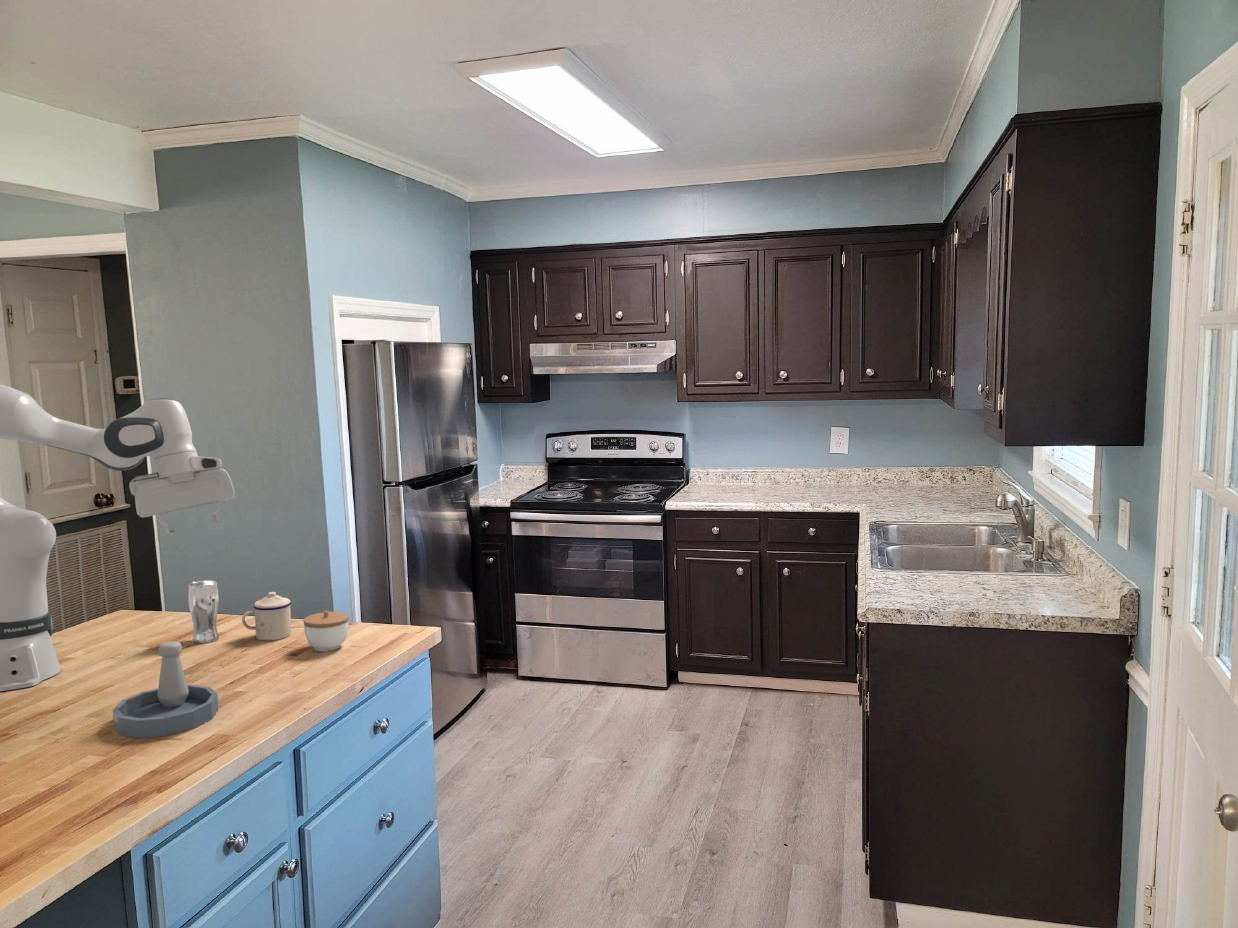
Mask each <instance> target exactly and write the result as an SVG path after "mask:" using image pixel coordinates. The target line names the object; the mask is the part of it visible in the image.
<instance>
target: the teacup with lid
mask: <svg viewBox="0 0 1238 928" xmlns="http://www.w3.org/2000/svg"><path fill="white" fill-rule="evenodd" d="M291 604H292V602H291V600H290V598H287V597H282V596H280V595H278V594H277V593H276V592H275V591H271V592H270V591H269V592H268V593H267V596H265V597H263V598H261V599H259V600H257V601H256V602H254V604H253V608H254V610H248V611H246V612H245V613H243V614H242V617H241V621H242V625H243V626H244V628H246V629H247V630H251V631H253V630H255V637H256V639H258V640H260V641H264V642H265V641H278V639H279V640H282V639H285V638H288V637H290V636H291V634H292V619H291V616H292V615H291ZM253 614H254V619H255V621H254V623H255V625H254V626H253V625H252V626H251V625H249V624H247V622H246V617H247V616H249V615H253Z"/></svg>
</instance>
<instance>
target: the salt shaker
mask: <svg viewBox="0 0 1238 928" xmlns="http://www.w3.org/2000/svg"><path fill="white" fill-rule="evenodd" d="M182 651H183V646H182V643H181V642H178V641H174V640H173V641H167V642H164V643H161V644H159V646H158V656H159V657H161V665H160V670H159V671H160V674H159V681H158V694H157V696H158V699H159V701H160V703H161V705H162V706H163V707H166V708H172V707H178V706H181V705H182V704H184V703H185V701H186V699H187V696H188V694H189V690H188V686H187V685H188V684H187V679H186V675H185V672H184V668H183V665H182V661H181V658H180V654H182Z"/></svg>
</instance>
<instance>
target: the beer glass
mask: <svg viewBox="0 0 1238 928" xmlns="http://www.w3.org/2000/svg"><path fill="white" fill-rule="evenodd" d="M187 591H188V592H187V593H188V600H187V601H188V607H189V612H190V616H191V620H192V625H193V635H192V643H194V644H208V643H213V642H216V641H218V640H219V637H220V635H219V632H218V629H217V618H218V612H219V603H220V602H219V601H220V599H219V590H218V581H216V580H212V579H211V580H210V579H209V580H208V579H205V580H198V581H193V582H190V583H188V590H187Z"/></svg>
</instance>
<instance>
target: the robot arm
mask: <svg viewBox="0 0 1238 928" xmlns="http://www.w3.org/2000/svg"><path fill="white" fill-rule="evenodd" d="M0 440H10V441H18V442H25V443H33V444H39V445H44V446H49V447H52V448H56V449H59V450H63V451H67V452H71V453H76V454H79V455H83V456H87V457H89V458H90V459H93V460H95V461H96V462H98V463H100V464H101V465H102V466H104V467H106V468H107V469H110V470H112V471H116V472H117V471H118V472H125V471H130V470H132V469H135V468H137V467H138V466H139V465H140V464H142V463H143V461H144V460H145V457H152V458H153V460H154V461H153V462H154V465H155V469H156V472H152V473H148V474H144V475H143V474H142V475H137V476H135V477H134V478H133V479H131V480H130V481H129V484H128V486H129V491H130V494H131V496H133V497H134V501H135V503H134V504H135V509H136V514H137V515H138V516H139V517H140V518H143V519H144V518H148V517H152V516H156V519H157V521H158V522H159V523H160V524H161V525H162V526H163V527H164V530H165V533H166V534H171V533H175V528H174V524H173V523H168V522H167V521H165V518H166V516H165V514H167V513H172V512H177V511H182V510H186V509H193V508H195V507H196V508H197V507H201V506H207V505H212V508H213V509H214V508H215V509H214V513H213V514H212V515H209V520H210V523H211V524H212V525H213V524H217V523H219V522H220V519H219V513H220V510H221V506H222V504H221V502H225V501H230V500H232V499H233V498H234V497H235V495H236V491H235V487H234V483H233V482H232V479H231V477H230V475H229V473H228V471H227V470H225V469H224V468H222V467H223V466H222V465H223V462H222V460H221V459H220V458H218V457H209V456H207V457H206V456H202V455H201V456H199V455H198V451H197V449H196V447H195V446H194V443H193V432H192V428H191V424H190V421H189V417H188V416H187V412H186V411H185V408H184V406H183V405H182V404H181V403H180V402H179V401H177V400H175V399H171V398H162V397H161V398H152V399H149V400H146V401H144V402H143V404H142V405H140V406H139V407H138V408H136V410H134V411H133V412H130V413H128V414H126V415H125V416H122V417H119V418H117V419H114V420H113V421H111V422H110V423H108V425H107V426H106V427H105V428H95V427H91V426H88V425H83V424H80V423H77V422H74V421H73V422H72V421H68V420H64V419H61V418H59V417H55V416H54V415H52V414H50V413H48V412H47V411H46V410H44V409H43V408H42V407H41V406H40V405H39V404H38V402H37V401H36V400H35V399H34V398H33V396H31V395H29V393H26V392H23V391H21V390H19V389H16V388H13V387H11V386H8V385H5V384H0ZM56 539H57V531H56V529H55V526H54V525H53V523H52V522H51V521H49V519H47V518H46V516H44V515H43V514H41V513H39V512H36V511H34V510H28V509H24V508H22V507H19V506H16V505H13V504H12V503H10V502H8V501H7V500H6V499H4V498H2V497H1V496H0V692H4V691H11V690H18V689H23V688H30V687H34V686H36V685H38V684H40V683H41V682H42V681H45V680H46V679H49V678H52V677H54V676H56V675H57V674H59V673H60V672H61V671H62V667H61V666H62V665H60V662H59V660H58V657H57V654H56V651H55V646H54V642H53V638H52V635H53V627H54V626H53V618H52V613H51V611H50V610H49V603H48V592H47V591H48V589H47V573H48V565H49V560H50V553H51V550H52V549H53V547H54V546H55V543H56Z"/></svg>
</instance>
